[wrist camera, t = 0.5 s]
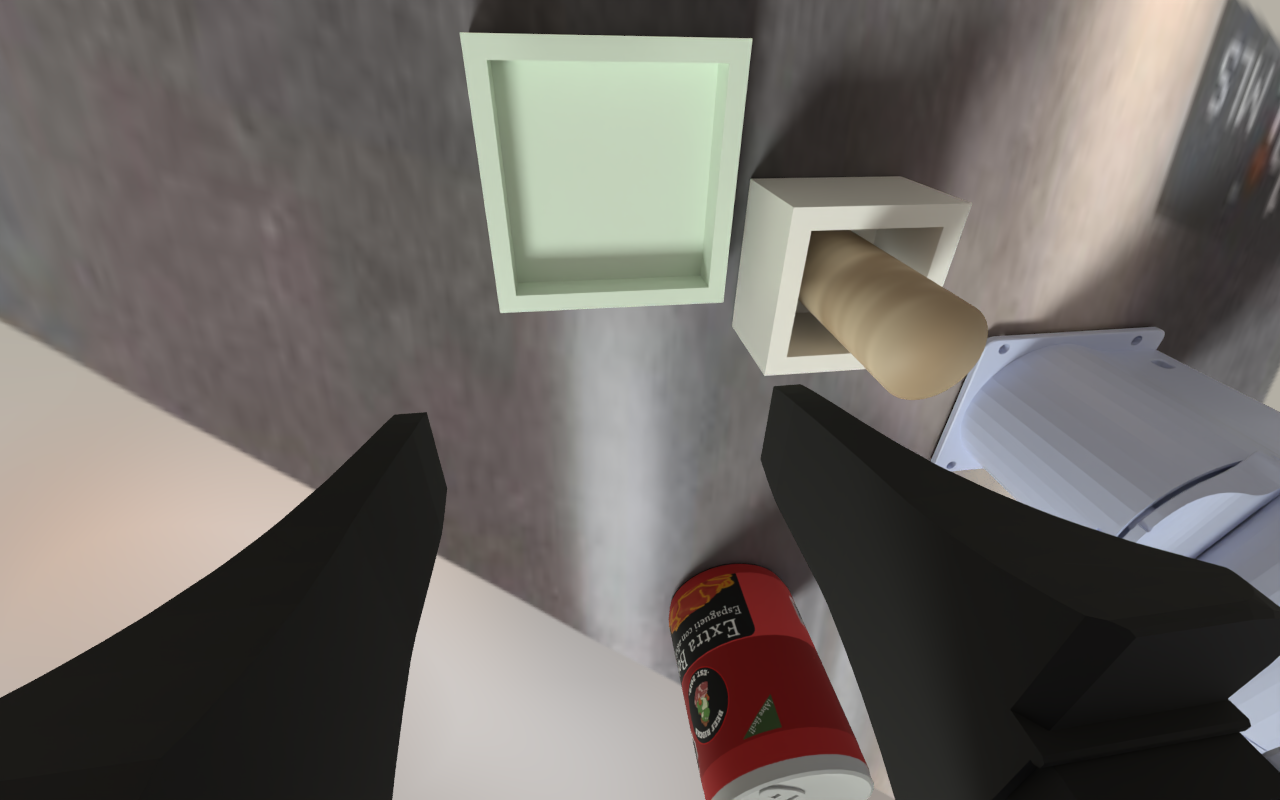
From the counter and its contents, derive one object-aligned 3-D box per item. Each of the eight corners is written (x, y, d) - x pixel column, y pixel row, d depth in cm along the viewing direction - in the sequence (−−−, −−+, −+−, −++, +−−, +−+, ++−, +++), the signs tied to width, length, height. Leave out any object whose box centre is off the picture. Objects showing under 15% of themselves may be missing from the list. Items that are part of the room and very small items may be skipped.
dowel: (862, 219, 20) (1005, 299, 14) (844, 294, 21) (964, 396, 15) (786, 221, 19) (897, 305, 13) (773, 298, 21) (867, 403, 15)
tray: (734, 38, 16) (752, 38, 15) (710, 283, 21) (722, 302, 19) (467, 33, 15) (459, 32, 14) (503, 292, 20) (500, 313, 18)
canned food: (712, 545, 30) (784, 763, 21) (812, 578, 33) (912, 779, 24) (641, 623, 33) (676, 840, 24) (738, 646, 36) (802, 845, 27)
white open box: (900, 176, 20) (972, 203, 16) (861, 319, 23) (914, 365, 20) (750, 178, 19) (793, 207, 16) (732, 326, 22) (764, 375, 19)
